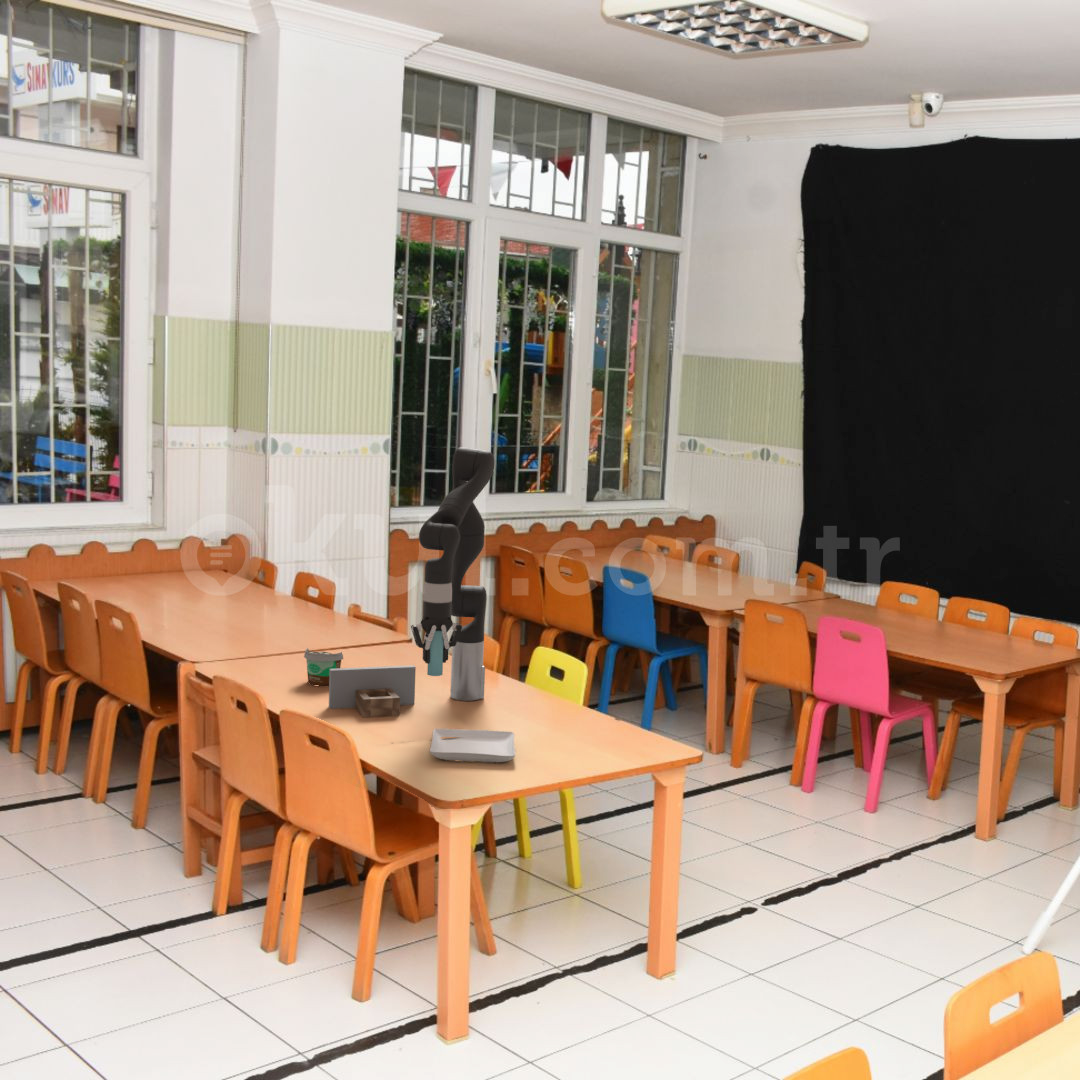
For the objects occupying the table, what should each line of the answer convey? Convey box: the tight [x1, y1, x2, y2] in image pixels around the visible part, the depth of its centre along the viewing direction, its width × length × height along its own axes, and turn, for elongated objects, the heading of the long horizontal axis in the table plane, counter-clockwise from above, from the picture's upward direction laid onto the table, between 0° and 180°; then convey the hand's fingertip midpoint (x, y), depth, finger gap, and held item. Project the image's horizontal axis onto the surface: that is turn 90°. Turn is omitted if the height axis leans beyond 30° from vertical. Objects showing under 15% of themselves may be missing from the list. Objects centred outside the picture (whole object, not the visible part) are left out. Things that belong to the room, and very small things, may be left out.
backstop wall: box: [328, 664, 417, 710], centre depth 364 cm, size 24×2×12 cm, turn 110°
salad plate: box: [429, 728, 516, 763], centre depth 331 cm, size 21×21×3 cm
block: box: [355, 688, 401, 718], centre depth 359 cm, size 10×10×5 cm
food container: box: [303, 647, 344, 687], centre depth 389 cm, size 12×6×10 cm, turn 73°
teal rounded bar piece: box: [426, 631, 444, 677], centre depth 344 cm, size 4×4×12 cm
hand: (435, 662), depth 344 cm, fingers closed on teal rounded bar piece, 4 cm apart
